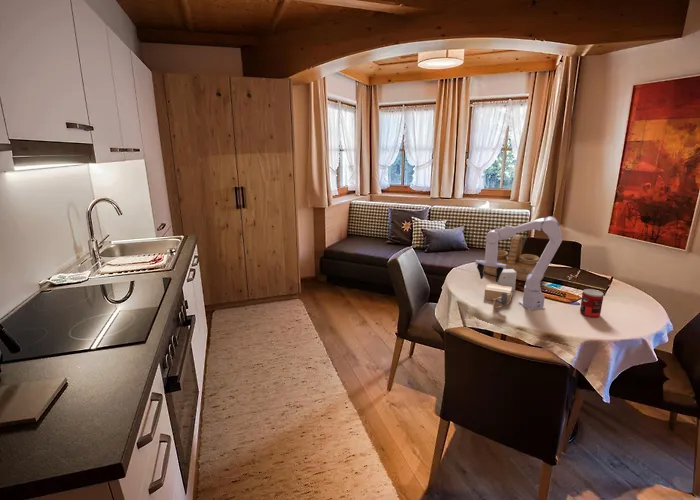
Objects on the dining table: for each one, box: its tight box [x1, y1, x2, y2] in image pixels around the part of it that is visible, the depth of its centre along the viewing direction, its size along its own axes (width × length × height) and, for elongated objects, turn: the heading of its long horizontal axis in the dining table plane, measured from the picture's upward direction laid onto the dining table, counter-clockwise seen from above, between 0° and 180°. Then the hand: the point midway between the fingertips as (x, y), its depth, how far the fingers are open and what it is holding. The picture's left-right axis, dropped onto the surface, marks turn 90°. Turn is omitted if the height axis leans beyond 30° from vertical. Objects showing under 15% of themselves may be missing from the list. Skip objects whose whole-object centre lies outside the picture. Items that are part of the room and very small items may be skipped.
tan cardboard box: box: [492, 292, 512, 309], centre depth 175 cm, size 12×6×9 cm, turn 120°
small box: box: [496, 269, 517, 291], centre depth 198 cm, size 8×6×10 cm
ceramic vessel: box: [483, 234, 545, 282], centre depth 215 cm, size 34×18×25 cm, turn 51°
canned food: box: [579, 288, 605, 318], centre depth 166 cm, size 8×8×11 cm
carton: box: [483, 283, 513, 301], centre depth 188 cm, size 12×9×5 cm
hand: (489, 279), depth 185 cm, fingers open, 7 cm apart
